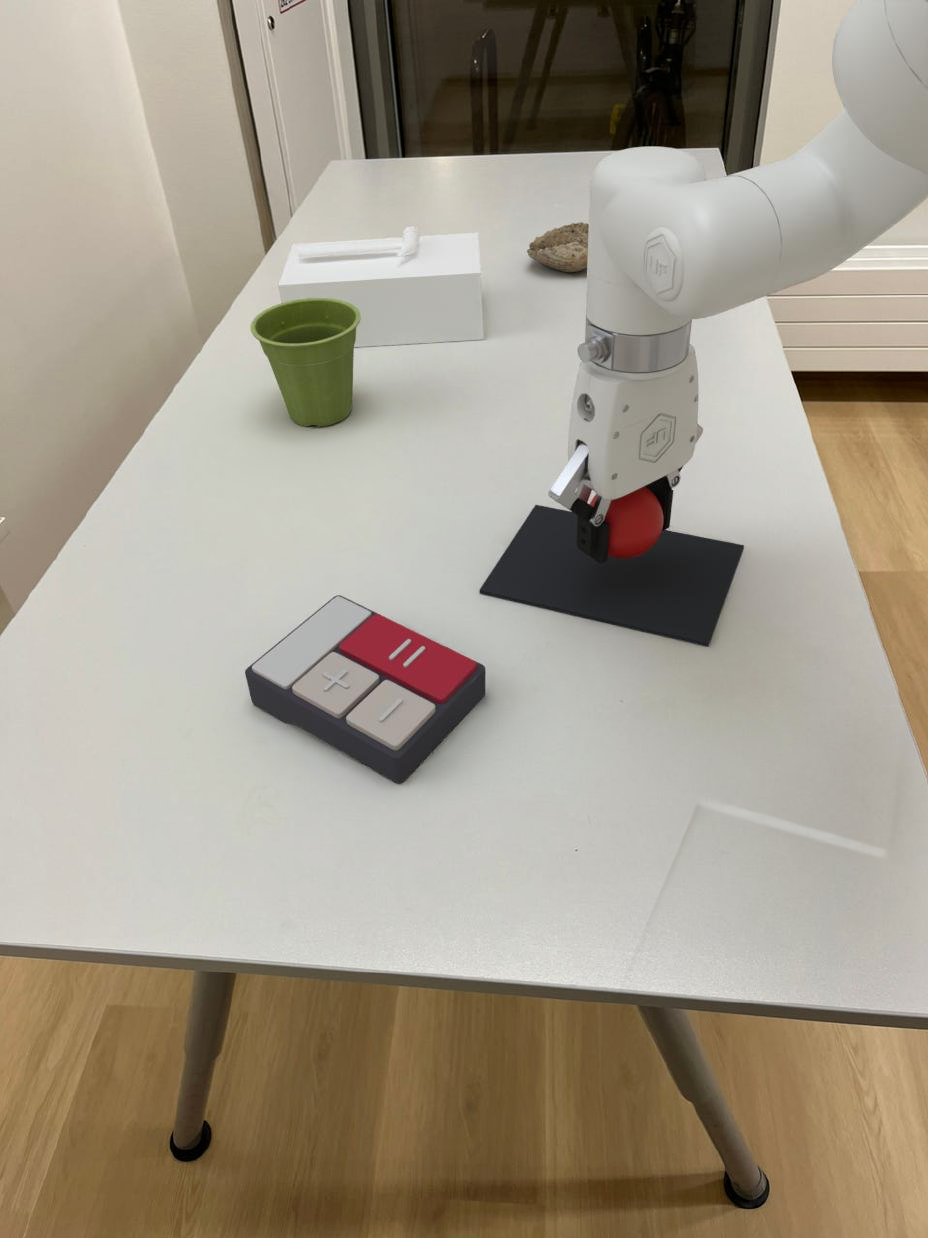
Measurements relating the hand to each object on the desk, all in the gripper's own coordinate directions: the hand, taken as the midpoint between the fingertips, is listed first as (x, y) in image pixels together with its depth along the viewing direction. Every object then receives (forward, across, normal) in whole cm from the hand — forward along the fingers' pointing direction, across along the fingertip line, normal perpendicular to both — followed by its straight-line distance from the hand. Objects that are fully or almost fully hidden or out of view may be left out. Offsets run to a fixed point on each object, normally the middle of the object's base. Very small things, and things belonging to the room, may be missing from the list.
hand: (623, 536), depth 81 cm
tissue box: (+5, +15, +60) cm, 62 cm away
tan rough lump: (+5, +44, +59) cm, 74 cm away
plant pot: (+5, -5, +44) cm, 45 cm away
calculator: (+5, -25, +2) cm, 26 cm away
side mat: (+5, 0, +1) cm, 5 cm away
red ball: (-2, 0, 0) cm, 2 cm away
